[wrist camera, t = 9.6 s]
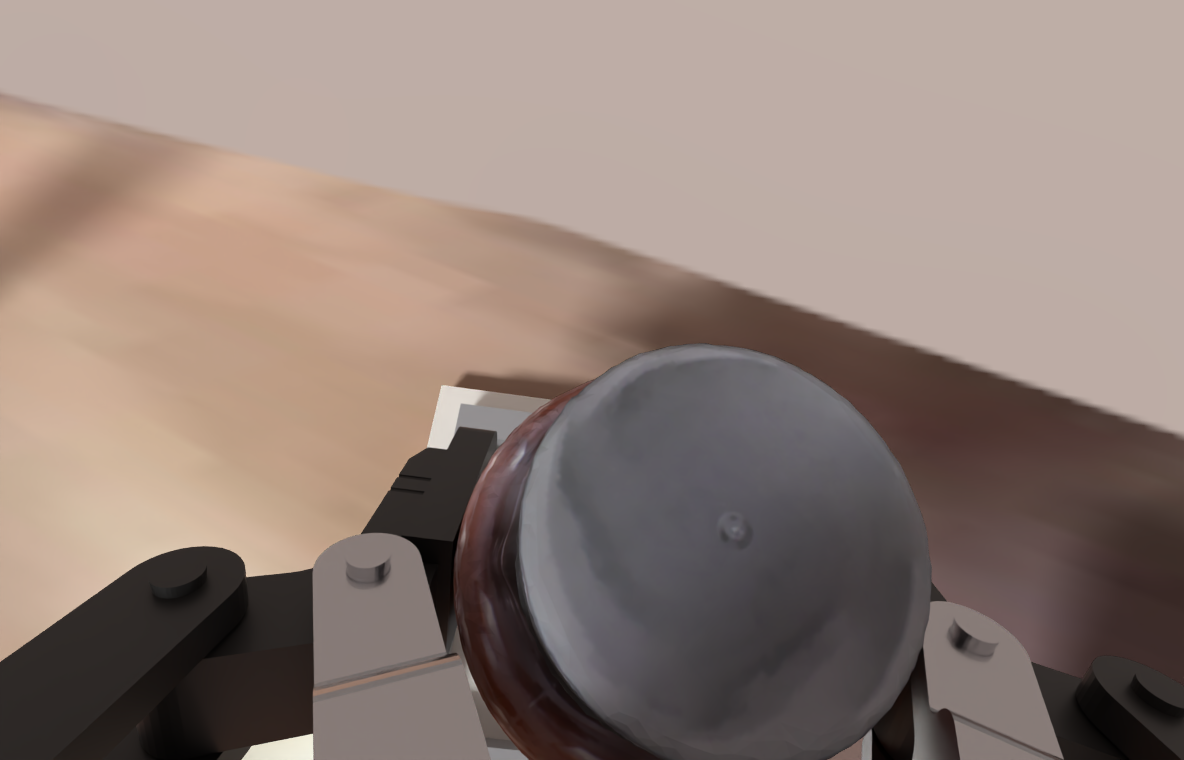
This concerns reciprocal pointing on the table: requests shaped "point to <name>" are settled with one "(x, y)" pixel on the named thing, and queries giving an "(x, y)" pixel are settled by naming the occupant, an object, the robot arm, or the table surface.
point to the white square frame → (503, 418)
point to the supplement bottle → (692, 567)
